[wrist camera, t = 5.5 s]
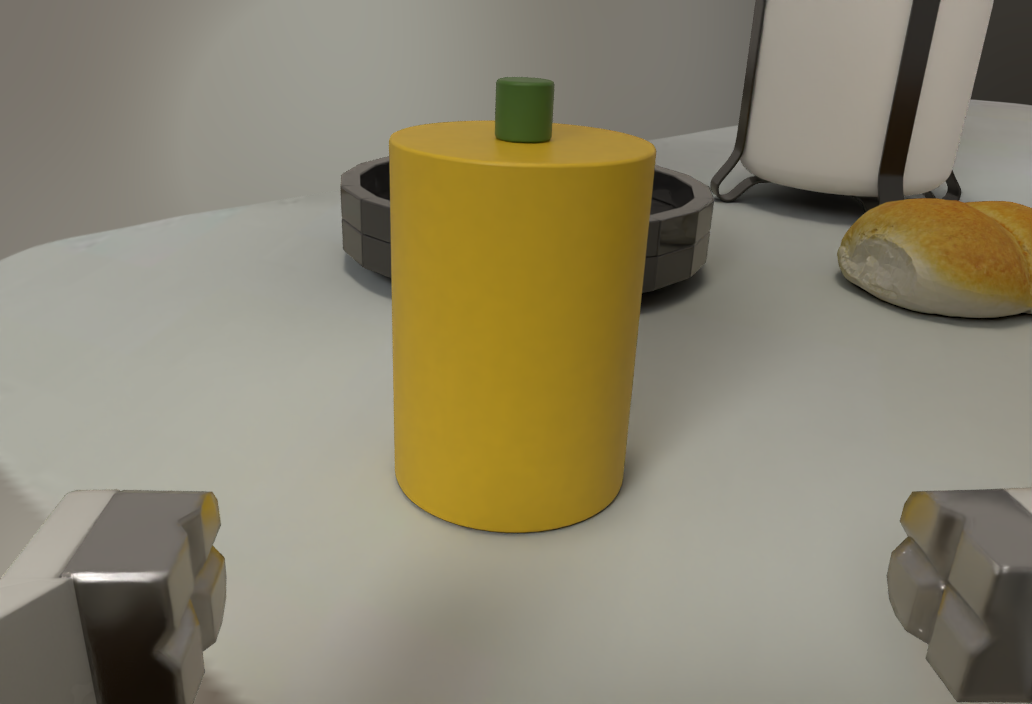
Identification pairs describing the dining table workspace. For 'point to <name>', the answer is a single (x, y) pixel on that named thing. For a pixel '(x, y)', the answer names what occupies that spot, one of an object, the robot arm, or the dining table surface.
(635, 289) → the pepper
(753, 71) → the coffee press
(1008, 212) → the bread roll
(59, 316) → the dining table surface
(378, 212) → the bowl
